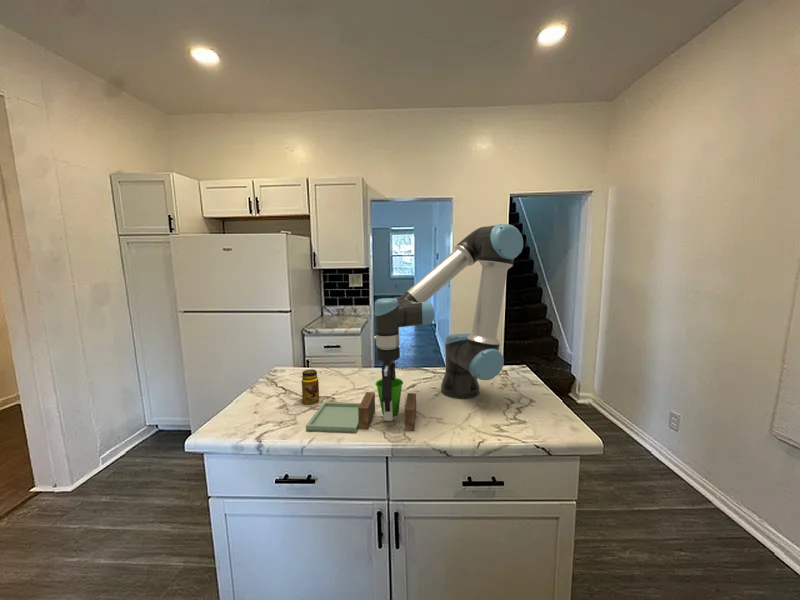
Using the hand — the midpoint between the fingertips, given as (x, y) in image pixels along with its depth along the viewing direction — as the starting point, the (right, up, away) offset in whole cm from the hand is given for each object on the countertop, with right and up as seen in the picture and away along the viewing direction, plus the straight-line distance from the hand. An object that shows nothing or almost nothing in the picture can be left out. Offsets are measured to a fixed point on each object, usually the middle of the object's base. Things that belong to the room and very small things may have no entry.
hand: (390, 412), depth 117 cm
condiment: (-31, -1, +16) cm, 35 cm away
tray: (-17, -3, +2) cm, 18 cm away
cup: (0, -1, 0) cm, 1 cm away
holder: (0, -3, 0) cm, 3 cm away
